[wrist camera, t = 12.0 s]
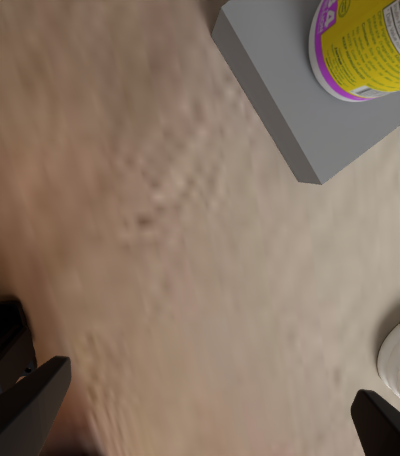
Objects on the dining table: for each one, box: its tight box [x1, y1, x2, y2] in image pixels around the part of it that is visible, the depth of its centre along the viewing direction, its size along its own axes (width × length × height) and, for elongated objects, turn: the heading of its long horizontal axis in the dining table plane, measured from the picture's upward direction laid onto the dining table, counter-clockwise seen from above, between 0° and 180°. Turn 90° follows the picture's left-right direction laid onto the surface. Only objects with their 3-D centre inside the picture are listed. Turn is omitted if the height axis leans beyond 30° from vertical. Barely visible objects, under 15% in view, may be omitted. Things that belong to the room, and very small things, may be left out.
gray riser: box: [211, 0, 400, 185], centre depth 16 cm, size 12×12×3 cm
